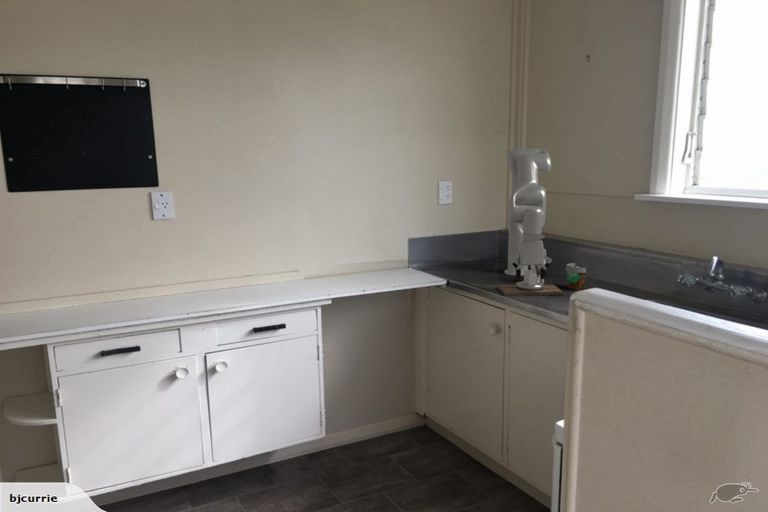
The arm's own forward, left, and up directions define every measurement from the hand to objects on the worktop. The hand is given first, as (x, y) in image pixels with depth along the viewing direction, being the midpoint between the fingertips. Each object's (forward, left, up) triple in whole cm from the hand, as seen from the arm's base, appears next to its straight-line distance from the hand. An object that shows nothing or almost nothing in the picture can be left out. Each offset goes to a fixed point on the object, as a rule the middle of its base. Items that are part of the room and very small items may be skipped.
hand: (530, 278), depth 254 cm
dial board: (0, 0, -6) cm, 6 cm away
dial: (0, 0, -4) cm, 4 cm away
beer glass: (-19, +8, -6) cm, 21 cm away
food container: (-7, +20, -6) cm, 22 cm away
